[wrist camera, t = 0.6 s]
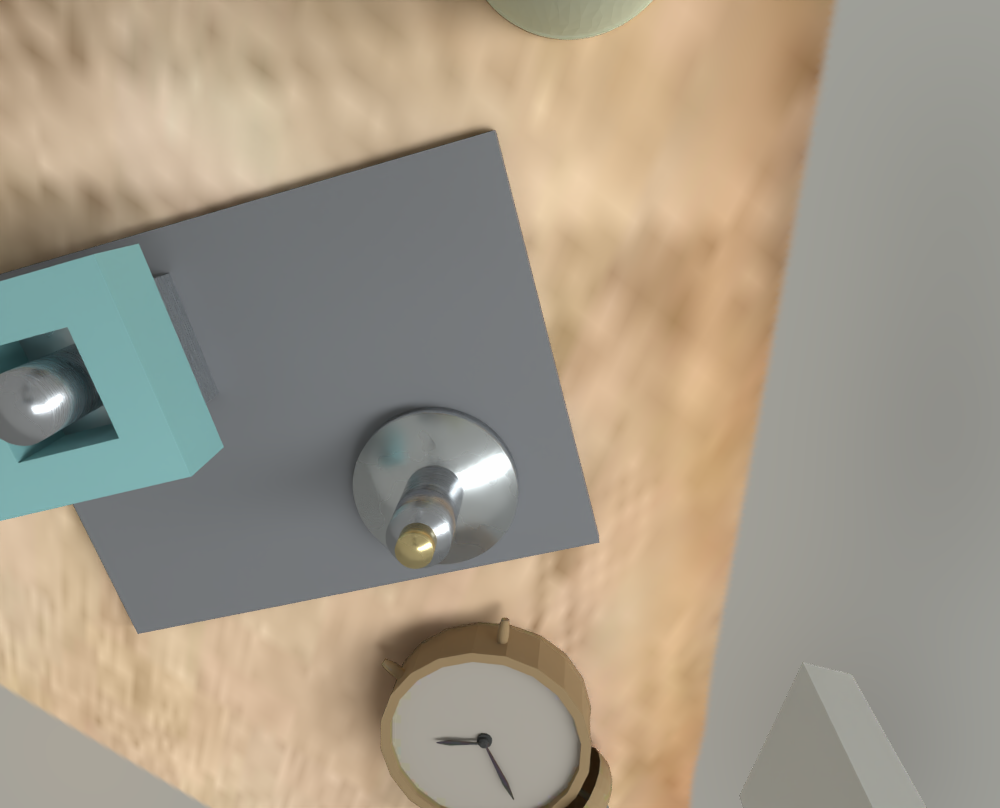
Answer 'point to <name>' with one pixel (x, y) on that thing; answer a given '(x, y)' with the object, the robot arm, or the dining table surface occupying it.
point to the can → (568, 16)
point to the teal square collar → (104, 385)
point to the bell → (436, 486)
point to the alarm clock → (492, 724)
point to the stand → (77, 381)
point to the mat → (341, 383)
